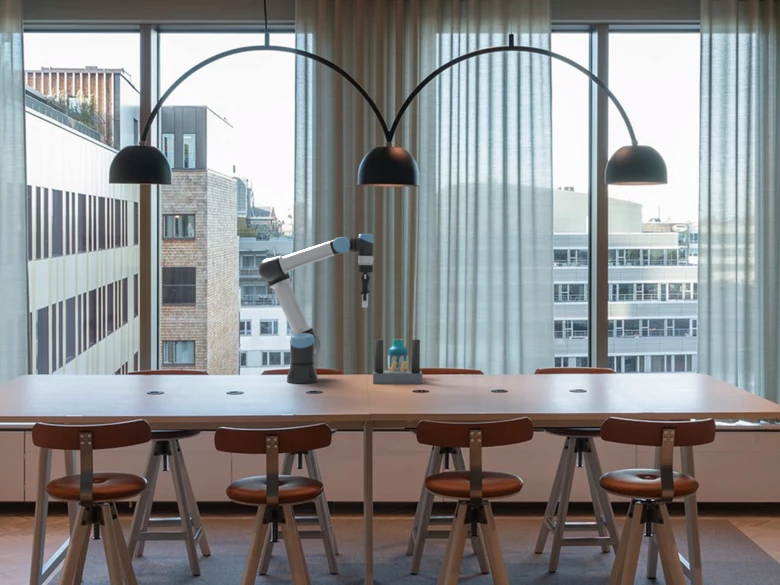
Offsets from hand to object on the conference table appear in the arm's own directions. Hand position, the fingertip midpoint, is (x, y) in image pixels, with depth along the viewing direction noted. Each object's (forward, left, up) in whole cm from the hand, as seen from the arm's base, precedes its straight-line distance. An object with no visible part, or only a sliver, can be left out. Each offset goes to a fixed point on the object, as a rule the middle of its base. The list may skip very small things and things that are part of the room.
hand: (364, 306), depth 478 cm
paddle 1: (+13, -12, -31) cm, 36 cm away
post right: (+25, -12, -32) cm, 42 cm away
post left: (+7, -12, -32) cm, 35 cm away
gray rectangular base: (+16, -12, -37) cm, 42 cm away
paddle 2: (+18, -12, -31) cm, 38 cm away
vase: (+17, +8, -37) cm, 41 cm away
